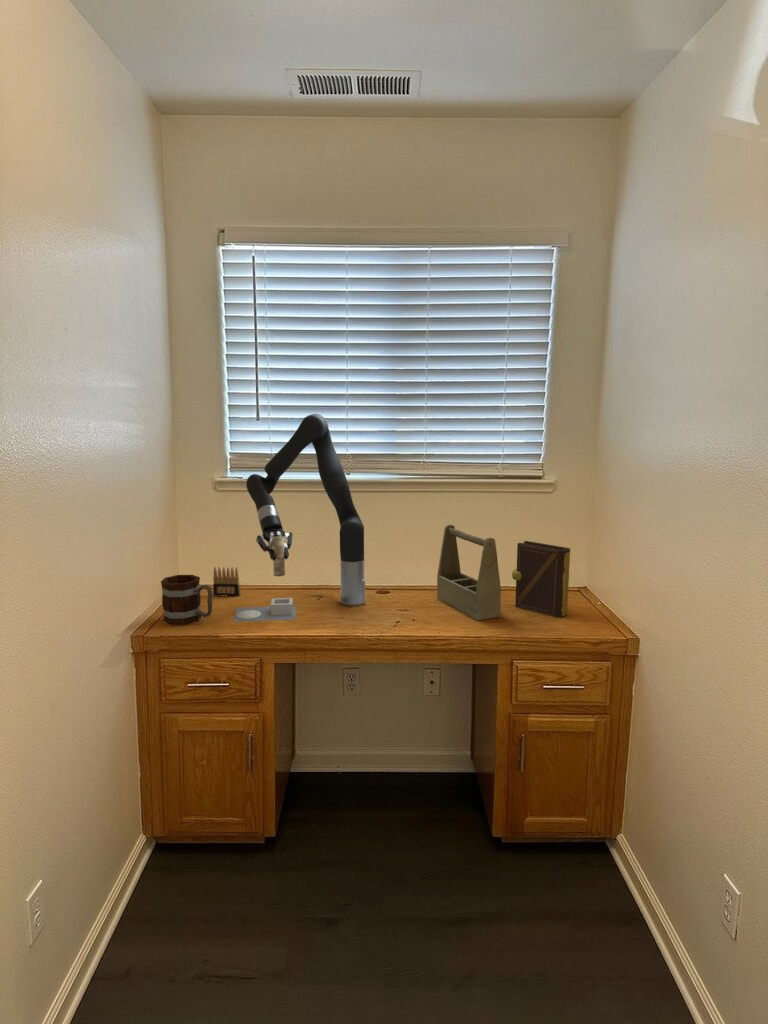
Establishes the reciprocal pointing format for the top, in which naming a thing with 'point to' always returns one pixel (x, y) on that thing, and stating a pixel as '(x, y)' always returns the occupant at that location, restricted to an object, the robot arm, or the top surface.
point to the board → (268, 611)
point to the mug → (183, 599)
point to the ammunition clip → (226, 582)
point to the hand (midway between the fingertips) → (280, 558)
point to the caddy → (469, 578)
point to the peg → (279, 556)
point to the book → (542, 578)
